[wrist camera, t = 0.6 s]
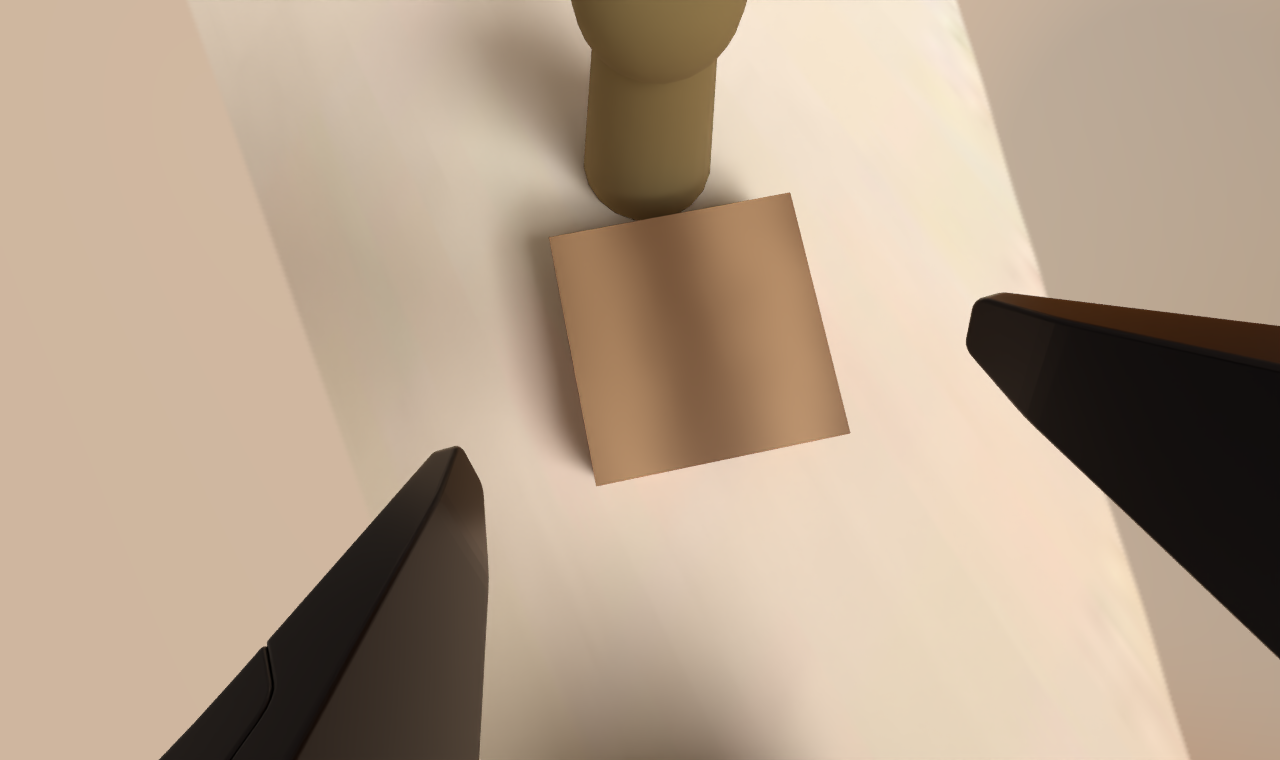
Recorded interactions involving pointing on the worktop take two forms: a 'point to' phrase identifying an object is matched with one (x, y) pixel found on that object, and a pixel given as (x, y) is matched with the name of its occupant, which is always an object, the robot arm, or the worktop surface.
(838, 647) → the worktop surface
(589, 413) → the base block
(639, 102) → the cork
